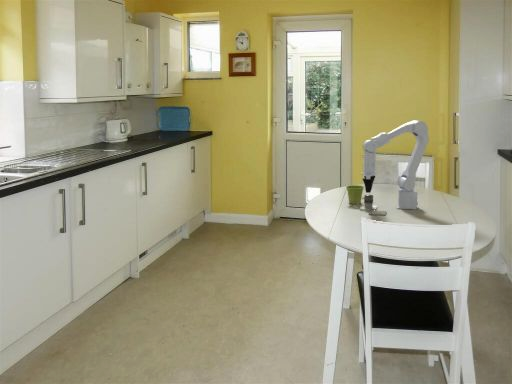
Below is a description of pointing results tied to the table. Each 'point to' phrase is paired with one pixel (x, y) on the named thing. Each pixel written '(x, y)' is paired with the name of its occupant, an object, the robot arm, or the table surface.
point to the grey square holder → (368, 207)
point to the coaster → (377, 212)
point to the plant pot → (354, 193)
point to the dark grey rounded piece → (368, 199)
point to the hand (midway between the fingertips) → (368, 191)
